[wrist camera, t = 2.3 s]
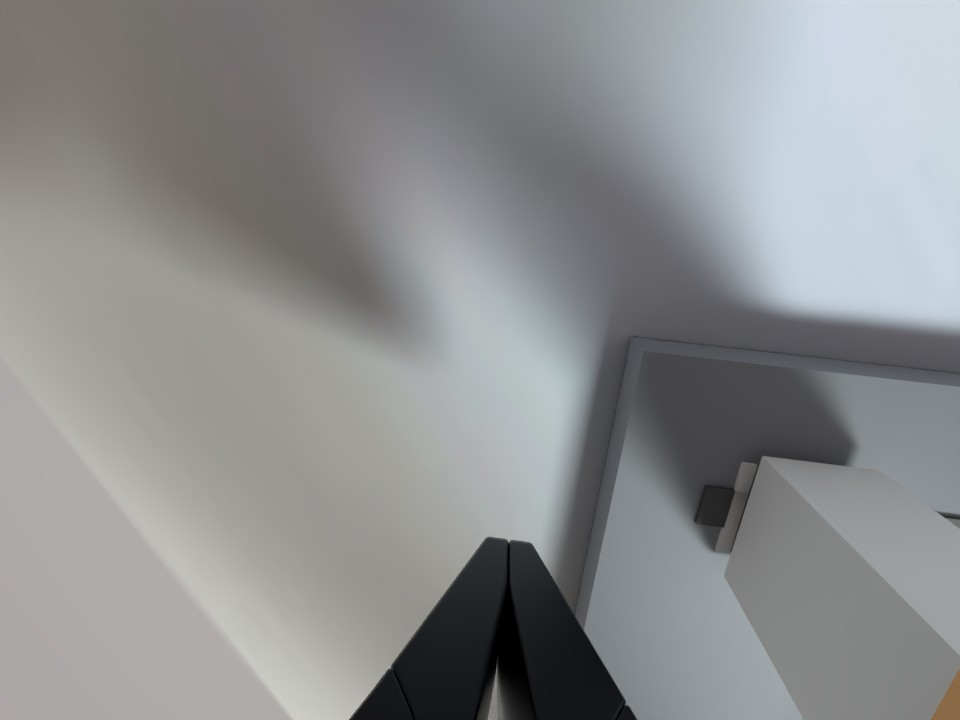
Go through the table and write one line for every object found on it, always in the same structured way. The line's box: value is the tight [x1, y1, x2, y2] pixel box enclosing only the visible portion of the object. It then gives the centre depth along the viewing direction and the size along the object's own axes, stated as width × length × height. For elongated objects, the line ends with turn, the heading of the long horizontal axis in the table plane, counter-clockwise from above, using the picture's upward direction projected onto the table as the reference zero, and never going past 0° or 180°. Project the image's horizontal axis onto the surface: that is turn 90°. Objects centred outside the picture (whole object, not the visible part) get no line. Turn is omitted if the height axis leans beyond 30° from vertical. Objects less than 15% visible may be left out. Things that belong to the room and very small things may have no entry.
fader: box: [724, 456, 960, 720], centre depth 8 cm, size 3×2×6 cm
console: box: [575, 337, 960, 720], centre depth 13 cm, size 18×18×1 cm
